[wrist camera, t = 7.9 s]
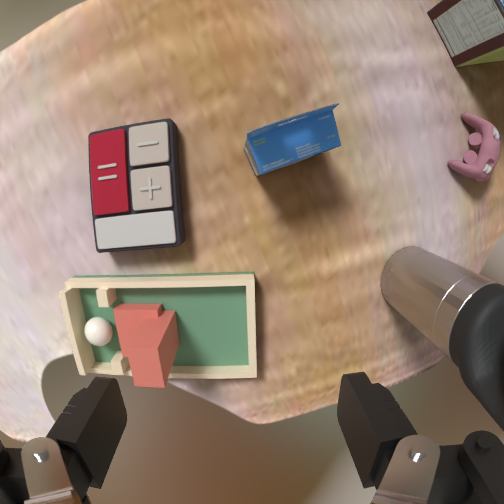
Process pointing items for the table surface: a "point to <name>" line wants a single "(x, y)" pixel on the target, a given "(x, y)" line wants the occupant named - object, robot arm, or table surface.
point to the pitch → (187, 316)
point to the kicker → (147, 341)
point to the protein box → (471, 30)
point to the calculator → (136, 187)
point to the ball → (98, 331)
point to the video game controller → (488, 153)
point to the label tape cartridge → (292, 140)
